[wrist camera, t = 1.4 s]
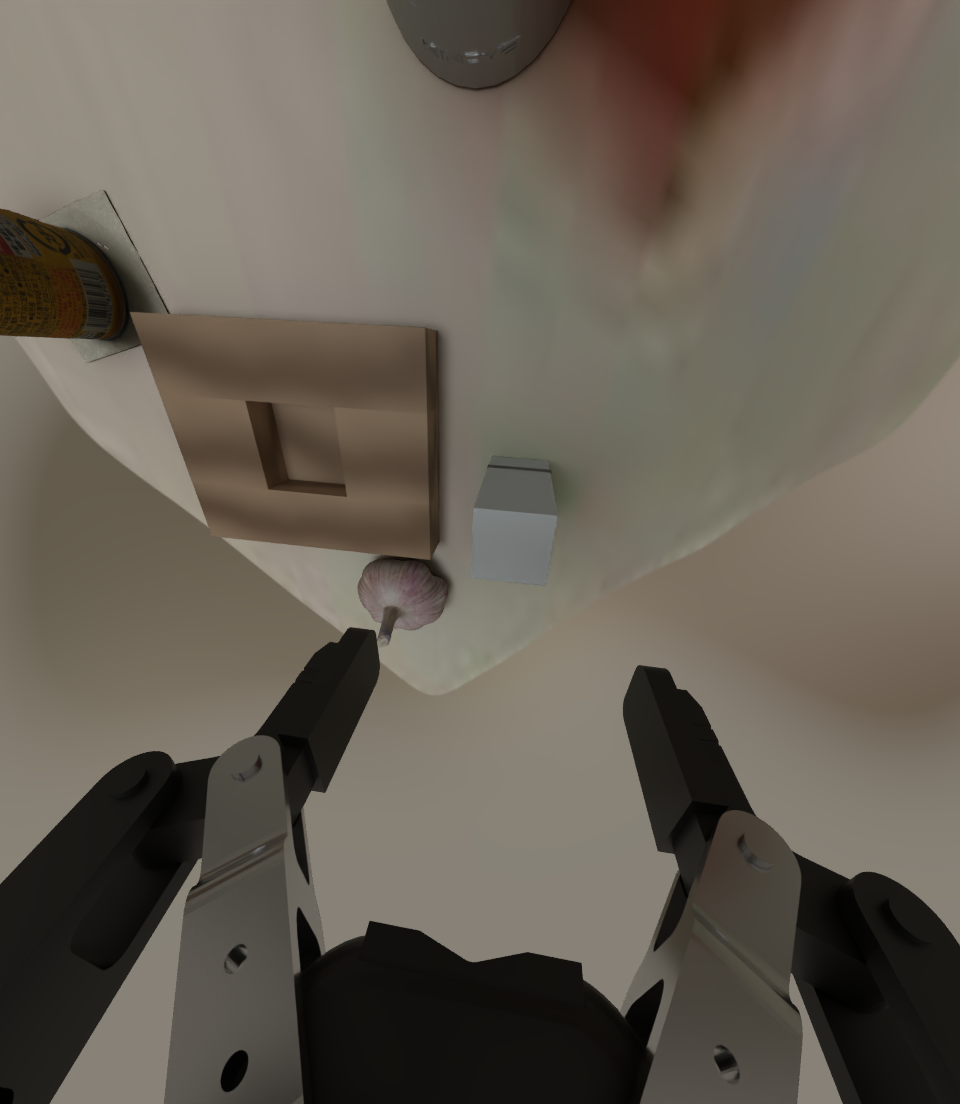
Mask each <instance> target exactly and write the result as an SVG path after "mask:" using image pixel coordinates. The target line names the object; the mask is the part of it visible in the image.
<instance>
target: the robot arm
mask: <svg viewBox="0 0 960 1104" xmlns="http://www.w3.org/2000/svg"><path fill="white" fill-rule="evenodd" d="M570 2H571V0H387V3H388V5H389V8H390V10H391V12H392V15H393V17H394V19H395V21H396V23H397V25H398V27H399V29H400V31H401V33H402V36H403V38H404V39H405V41H406V42H407V43H408V45H409V46H410V48H411V49H412V50H413V52H414V53H415V55H416V56H417V57H418V59H419V60H420V61H421V62H422V63H423V64H424V65H425V66H427V67H428V68H429V69H430V70H431V71H432V72H433V73H434V74H435V75H437V76H438V77H440V78H442V79H444V80H446V81H448V82H450V83H452V84H454V85H457V86H463V87H469V88H482V87H488V86H494V85H497V84H499V83H501V82H503V81H505V80H507V79H509V78H511V77H513V76H515V75H517V74H518V73H519V72H520V71H521V70H522V69H524V68H525V67H526V66H527V65H528V64H529V63H531V62H532V61H533V60H534V59H535V58H536V57H537V56H538V54H539V53H540V52H541V50H542V49H543V48H544V47H545V45H546V44H547V43H548V42H549V40H550V39H551V38H552V36H553V35H554V33H555V31H556V29H557V28H558V26H559V24H560V22H561V20H562V18H563V16H564V15H565V13H566V11H567V9H568V7H569V5H570ZM379 670H380V662H379V654H378V646H377V638H376V633H375V631H374V630H368V629H360V628H352V627H350V628H348V629H347V631H346V632H345V633H344V635H343V636H342V638H341V639H340V641H339V642H338V643H334V642H329V643H328V644H327V645H325V646H324V647H323V648H321V649H320V650H319V651H317V652H316V653H315V654H314V655H313V657H312V658H311V659H310V661H309V662H308V663H307V665H306V666H305V667H304V671H302V672H301V673H300V674H299V676H298V677H297V679H296V681H295V683H293V684H292V685H291V687H290V688H289V690H288V691H287V692H286V694H285V695H284V697H283V698H282V699H281V701H280V702H279V704H278V705H277V706H276V708H275V709H274V710H273V712H272V713H271V715H270V716H269V717H268V719H267V720H266V721H265V723H264V724H263V726H262V727H261V728H260V730H259V731H258V732H257V733H256V734H255V735H254V736H253V737H249V738H246V739H244V740H241V741H239V742H238V743H236V744H234V745H233V746H231V747H230V748H228V749H227V750H226V751H225V752H224V753H223V754H222V755H221V756H217V757H213V758H208V759H201V760H195V761H190V762H184V763H178V764H174V762H173V760H172V759H171V757H170V756H169V755H168V754H166V753H164V752H160V751H152V752H146V753H142V754H139V755H137V756H134V757H132V758H130V759H127V760H126V761H124V762H122V763H121V764H119V765H117V766H116V767H114V768H113V769H112V770H110V771H109V772H108V773H107V774H105V775H104V776H103V777H102V778H101V779H100V780H99V782H97V783H96V784H95V785H94V787H93V788H92V789H91V790H90V791H89V792H88V793H87V794H86V795H85V796H84V797H83V798H82V799H81V800H80V801H79V802H78V803H77V804H76V805H75V806H74V808H73V809H72V810H71V811H70V812H69V813H68V814H67V815H66V816H65V817H64V818H63V819H62V820H61V821H60V822H59V823H58V824H57V825H56V826H55V828H54V829H53V830H52V831H51V832H50V833H49V834H48V835H47V836H46V837H45V838H44V839H43V840H42V841H41V842H40V843H39V844H38V845H37V846H36V847H35V848H34V849H33V850H32V852H31V853H30V854H29V855H28V856H27V857H26V858H25V859H24V860H23V861H22V862H21V863H20V864H19V865H18V866H17V867H16V868H15V869H14V870H13V872H12V873H11V874H10V875H9V876H8V877H7V878H6V879H5V880H4V881H3V882H2V883H1V884H0V1104H50V1102H51V1100H52V1098H53V1097H54V1095H55V1094H56V1092H57V1090H58V1089H59V1087H60V1085H61V1084H62V1082H63V1081H64V1079H65V1077H66V1076H67V1074H68V1072H69V1071H70V1069H71V1067H72V1066H73V1064H74V1062H75V1061H76V1059H77V1058H78V1056H79V1054H80V1053H81V1051H82V1049H83V1048H84V1046H85V1044H86V1043H87V1041H88V1039H89V1038H90V1036H91V1034H92V1033H93V1031H94V1029H95V1028H96V1026H97V1025H98V1023H99V1021H100V1020H101V1018H102V1016H103V1015H104V1013H105V1012H106V1010H107V1008H108V1006H109V1005H110V1003H111V1002H112V1000H113V998H114V997H115V995H116V993H117V992H118V990H119V989H120V987H121V985H122V983H123V982H124V980H125V979H126V977H127V975H128V974H129V972H130V970H131V969H132V967H133V965H134V964H135V962H136V960H137V959H138V957H139V956H140V954H141V952H142V951H143V949H144V947H145V946H146V944H147V942H148V941H149V939H150V937H151V936H152V934H153V933H154V931H155V929H156V928H157V926H158V924H159V923H160V921H161V919H162V918H163V916H164V915H165V913H166V911H167V910H168V908H169V906H170V905H171V903H172V901H173V900H174V898H175V896H176V895H177V893H178V891H179V890H180V888H181V886H182V885H183V883H184V882H185V880H186V878H187V877H188V875H189V873H190V872H191V870H192V869H193V867H194V865H195V864H196V862H197V860H198V859H200V858H202V865H201V874H200V879H199V882H198V883H197V885H195V886H194V887H192V888H191V890H190V892H189V893H188V896H187V899H186V903H185V908H184V915H183V924H182V935H181V943H180V953H179V963H178V973H177V982H176V992H175V1002H174V1011H173V1021H172V1031H171V1041H170V1051H169V1060H168V1070H167V1079H166V1089H165V1099H164V1104H797V1097H798V1086H799V1074H800V1063H801V1052H802V1038H803V1033H802V1021H801V1016H800V1013H799V1010H798V1009H797V1007H796V1006H795V1005H794V1004H792V1002H791V1000H790V997H789V982H790V974H791V973H792V974H793V976H794V978H795V981H796V984H797V986H798V989H799V991H800V994H801V996H802V999H803V1002H804V1005H805V1007H806V1010H807V1012H808V1015H809V1017H810V1020H811V1023H812V1025H813V1028H814V1030H815V1033H816V1035H817V1038H818V1041H819V1043H820V1046H821V1048H822V1051H823V1053H824V1056H825V1059H826V1061H827V1064H828V1067H829V1069H830V1071H831V1074H832V1077H833V1079H834V1082H835V1085H836V1087H837V1090H838V1092H839V1095H840V1098H841V1100H842V1102H843V1104H960V945H959V944H958V942H957V941H956V939H955V938H954V936H953V935H952V933H951V932H950V931H949V930H948V928H947V927H946V925H945V924H944V923H943V922H942V921H941V919H940V918H939V917H938V916H937V915H936V914H935V913H934V912H933V911H932V910H931V909H930V908H929V907H928V906H927V905H926V904H925V903H924V902H923V901H922V900H921V899H920V898H918V897H917V896H916V895H915V894H913V893H912V892H911V891H910V890H908V889H907V888H905V887H904V886H902V885H901V884H899V883H898V882H896V881H894V880H892V879H891V878H888V877H886V876H884V875H881V874H878V873H874V872H862V873H860V874H858V875H856V876H855V877H853V878H852V879H848V878H846V877H844V876H842V875H839V874H837V873H835V872H833V871H831V870H829V869H827V868H825V867H822V866H821V865H819V864H816V863H814V862H812V861H810V860H808V859H806V858H804V857H802V856H800V855H798V854H796V853H795V852H793V851H792V850H791V849H790V848H789V846H788V845H787V843H786V842H785V841H784V839H783V838H782V837H781V836H780V835H779V834H778V833H777V832H776V831H775V830H774V829H773V828H772V827H771V826H769V825H768V824H767V823H765V822H764V821H762V820H761V819H759V818H758V817H757V816H756V815H755V814H754V812H753V810H752V808H751V806H750V804H749V802H748V800H747V798H746V796H745V794H744V792H743V790H742V788H741V786H740V784H739V782H738V780H737V778H736V776H735V774H734V772H733V770H732V768H731V766H730V764H729V762H728V760H727V757H726V756H725V753H724V752H723V749H722V747H721V746H719V744H718V739H717V737H716V735H715V733H714V731H713V730H712V729H711V725H710V723H709V721H708V719H707V717H706V715H705V713H704V711H703V709H702V707H701V706H700V705H699V704H698V702H697V701H696V700H695V699H694V698H693V697H692V696H691V695H690V694H689V693H688V691H687V690H681V689H677V688H676V685H675V683H674V681H673V678H672V676H671V674H670V672H669V671H668V670H667V669H665V668H657V667H649V666H642V665H639V666H637V668H636V670H635V672H634V675H633V677H632V680H631V682H630V685H629V688H628V690H627V693H626V695H625V698H624V703H623V717H624V722H625V726H626V730H627V734H628V738H629V741H630V745H631V749H632V753H633V757H634V760H635V765H636V769H637V772H638V776H639V780H640V784H641V788H642V792H643V795H644V799H645V803H646V807H647V811H648V815H649V819H650V822H651V826H652V830H653V834H654V838H655V842H656V846H657V849H658V851H660V852H666V853H672V854H675V857H676V860H677V863H678V867H679V870H678V871H677V873H676V876H675V878H674V881H673V884H672V887H671V889H670V892H669V894H668V897H667V900H666V903H665V905H664V908H663V911H662V913H661V916H660V919H659V921H658V924H657V927H656V930H655V932H654V935H653V938H652V940H651V943H650V946H649V948H648V951H647V953H646V955H645V958H644V960H643V962H642V963H641V965H640V967H639V969H638V971H637V972H636V974H635V976H634V979H633V981H632V983H631V985H630V987H629V990H628V992H627V995H626V997H625V1000H624V1003H623V1005H622V1008H621V1011H620V1012H619V1011H618V1009H617V1008H616V1007H615V1006H614V1005H613V1004H612V1003H611V1002H610V1001H609V1000H608V999H607V998H606V997H605V996H604V995H603V994H601V993H600V992H599V991H598V990H597V989H596V988H594V987H593V986H591V984H589V983H587V982H586V981H584V980H583V977H582V976H583V975H582V964H581V963H579V962H574V961H568V960H564V959H559V958H554V957H549V956H544V955H539V954H534V953H529V952H526V953H521V954H516V955H511V956H506V957H501V958H495V959H491V960H485V961H480V962H469V961H466V960H465V959H463V958H462V957H460V956H459V955H457V954H455V953H454V952H452V951H451V950H449V949H447V948H446V947H444V946H443V945H441V944H440V943H438V942H436V941H435V940H433V939H432V938H430V937H429V936H427V935H426V934H424V933H422V932H421V931H418V930H413V929H408V928H403V927H398V926H393V925H388V924H383V923H378V922H373V921H370V922H369V925H368V928H367V932H366V935H365V936H360V937H357V938H354V939H351V940H348V941H346V942H343V943H342V944H340V945H338V946H336V947H334V948H332V949H331V950H329V951H328V952H325V944H324V937H323V930H322V924H321V918H320V913H319V909H318V904H317V900H316V896H315V891H314V885H313V878H312V871H311V863H310V855H309V847H308V839H307V831H306V824H305V816H304V809H303V806H304V804H305V802H306V800H307V798H308V796H309V794H310V792H311V791H317V792H323V793H325V792H326V790H327V788H328V786H329V783H330V781H331V779H332V777H333V775H334V773H335V770H336V768H337V766H338V764H339V762H340V760H341V758H342V756H343V753H344V751H345V749H346V747H347V745H348V743H349V741H350V738H351V736H352V734H353V732H354V729H355V728H356V726H357V724H358V721H359V719H360V717H361V715H362V713H363V711H364V709H365V707H366V704H367V702H368V700H369V698H370V696H371V694H372V692H373V689H374V687H375V685H376V683H377V680H378V676H379Z"/></svg>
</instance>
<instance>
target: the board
mask: <svg viewBox="0 0 960 1104" xmlns="http://www.w3.org/2000/svg"><path fill="white" fill-rule="evenodd" d="M130 314H131V317H132V320H133V323H134V325H135V328H136V331H137V333H138V336H139V339H140V342H141V344H142V347H143V350H144V352H145V355H146V358H147V361H148V363H149V366H150V369H151V371H152V374H153V377H154V380H155V382H156V385H157V388H158V390H159V393H160V396H161V399H162V401H163V404H164V407H165V409H166V412H167V415H168V418H169V420H170V423H171V426H172V428H173V431H174V434H175V437H176V439H177V442H178V445H179V447H180V450H181V453H182V456H183V458H184V461H185V464H186V466H187V469H188V472H189V475H190V477H191V480H192V483H193V485H194V488H195V491H196V494H197V496H198V499H199V502H200V504H201V507H202V510H203V513H204V515H205V518H206V521H207V523H208V526H209V529H210V531H211V534H212V536H216V537H225V538H234V539H243V540H253V541H262V542H271V543H280V544H289V545H299V546H308V547H317V548H326V549H335V550H344V551H354V552H363V553H372V554H381V555H390V556H400V557H409V558H418V559H427V560H431V557H432V555H433V553H434V551H435V549H436V547H437V545H438V543H439V462H438V337H437V331H436V330H432V329H428V328H423V327H404V326H385V325H366V324H347V323H328V322H310V321H291V320H272V319H253V318H234V317H215V316H197V315H178V314H159V313H140V312H130Z"/></svg>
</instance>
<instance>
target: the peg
mask: <svg viewBox="0 0 960 1104" xmlns="http://www.w3.org/2000/svg"><path fill="white" fill-rule="evenodd" d="M557 519H558V513H557V508H556V502H555V496H554V491H553V485H552V479H551V470H550V468H549V462H548V461H547V460H535V459H523V458H511V457H498V456H492V459H491V462H490V464H489V465H488V470H487V473H486V475H485V478H484V481H483V483H482V486H481V489H480V491H479V494H478V497H477V500H476V502H475V505H474V508H473V529H472V551H471V574H470V578H479V579H488V580H497V581H505V582H514V583H523V584H532V585H541V586H546V581H547V576H548V570H549V564H550V559H551V553H552V547H553V541H554V536H555V530H556V524H557Z"/></svg>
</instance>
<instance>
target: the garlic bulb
mask: <svg viewBox="0 0 960 1104" xmlns="http://www.w3.org/2000/svg"><path fill="white" fill-rule="evenodd" d="M358 594H359V598H360V601H361V603H362V605H363V606H364V607H365V608H366V609H367V610H368V611H369V612H370V614H371V616H372V618H373V619H374V621H376V622H380V623H382V624H381V628H380V632H379V636H378V639H377V645H378V646H379V647H385V646H387V645H388V644H389V642H390V639H391V634H392V631H393V628H395V629H397V628H401V629H405V630H416V629H419V628H421V627H422V626H424V625H426V624H429V623H432V622H434V621H436V620H437V619H438V618H439V617H440V616H441V614H442V612H443V609H444V603H445V599H446V597H447V594H448V589H447V585H446V583H445V582H444V581H443V580H442V579H441V578H439V577H437V576H432V575H431V573H430V571H429V569H428V568H427V567H426V566H425V565H424V564H422V563H420V562H418V561H415V560H407V561H399V560H395V559H388V560H375V561H373V562H370V563H369V564H368V565H367V566H366V567H365V569H364V570H363V573H362V577H361V579H360V581H359V583H358Z"/></svg>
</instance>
